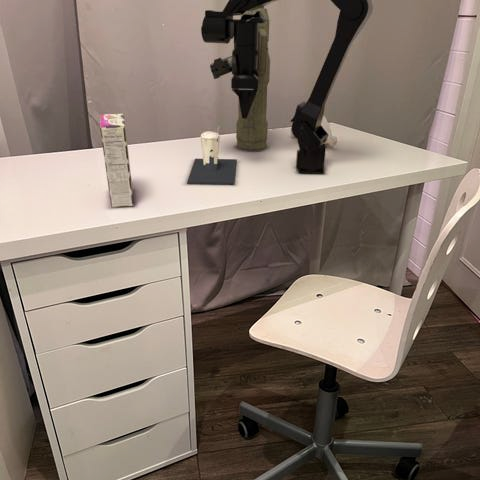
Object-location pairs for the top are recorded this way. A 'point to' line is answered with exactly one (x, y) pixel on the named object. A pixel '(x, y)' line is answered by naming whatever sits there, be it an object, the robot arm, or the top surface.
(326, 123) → the superhero figure
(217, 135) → the milkshake
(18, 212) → the top surface
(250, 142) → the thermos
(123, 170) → the candy bar box
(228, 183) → the mat
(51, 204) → the top surface
